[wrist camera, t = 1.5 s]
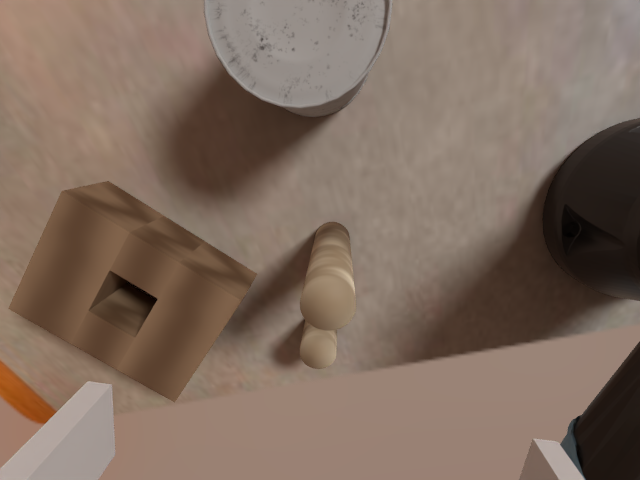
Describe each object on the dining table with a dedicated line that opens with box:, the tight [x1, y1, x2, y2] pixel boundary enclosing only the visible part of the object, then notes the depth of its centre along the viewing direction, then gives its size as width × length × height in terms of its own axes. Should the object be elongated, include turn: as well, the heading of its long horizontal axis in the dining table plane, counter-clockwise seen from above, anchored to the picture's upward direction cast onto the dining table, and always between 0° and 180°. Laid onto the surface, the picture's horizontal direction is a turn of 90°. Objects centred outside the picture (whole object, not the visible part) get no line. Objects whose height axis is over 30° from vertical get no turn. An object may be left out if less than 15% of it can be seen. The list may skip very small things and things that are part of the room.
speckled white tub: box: [204, 0, 392, 117], centre depth 25 cm, size 10×10×12 cm
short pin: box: [300, 320, 337, 369], centre depth 35 cm, size 3×3×5 cm
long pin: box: [300, 222, 356, 331], centre depth 28 cm, size 3×3×14 cm
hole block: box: [9, 181, 257, 402], centre depth 34 cm, size 16×12×6 cm
